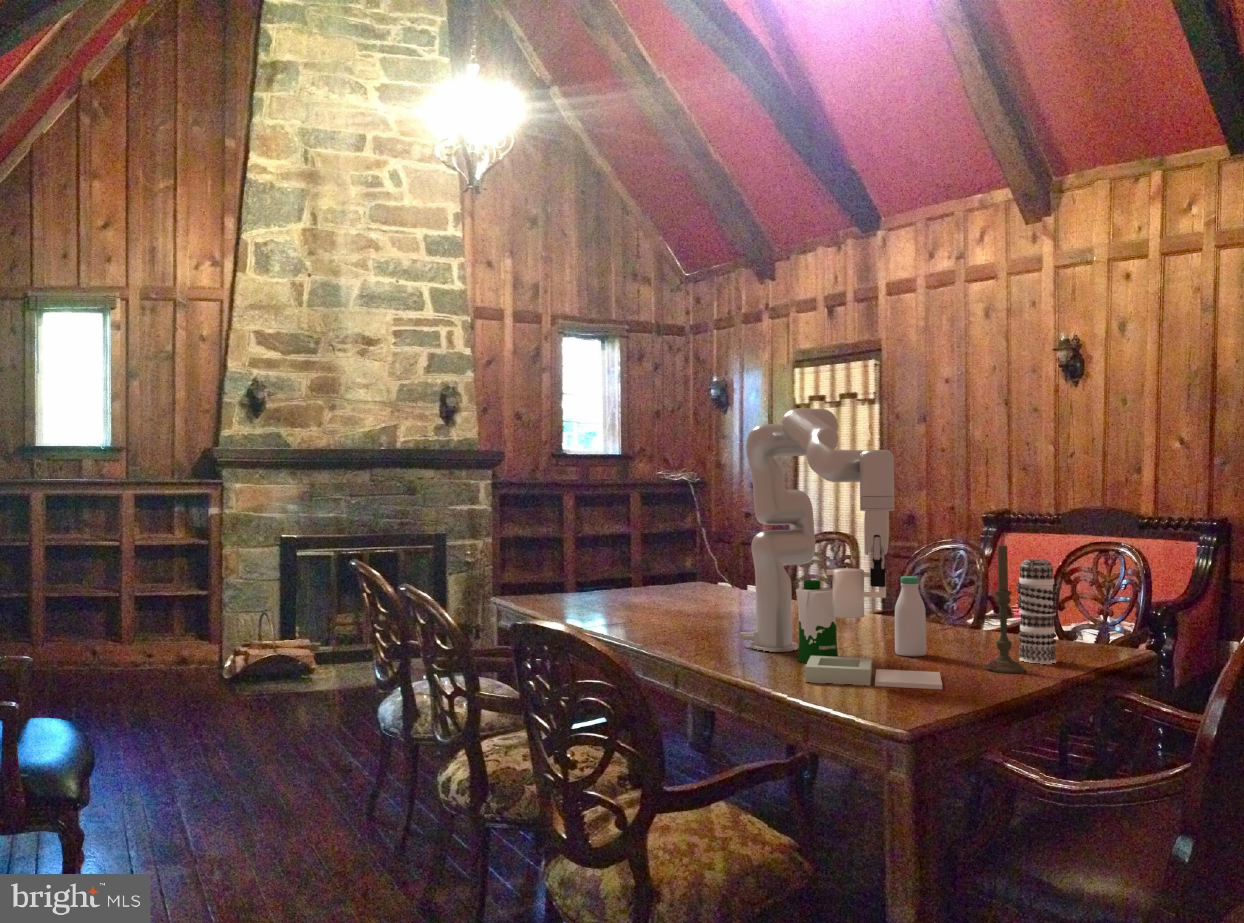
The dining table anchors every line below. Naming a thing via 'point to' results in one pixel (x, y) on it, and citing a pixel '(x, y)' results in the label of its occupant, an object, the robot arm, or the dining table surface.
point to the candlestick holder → (1003, 620)
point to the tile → (908, 679)
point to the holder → (839, 670)
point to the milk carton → (816, 621)
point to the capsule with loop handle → (851, 592)
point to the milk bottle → (910, 619)
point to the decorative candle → (1037, 611)
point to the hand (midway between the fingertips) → (878, 585)
